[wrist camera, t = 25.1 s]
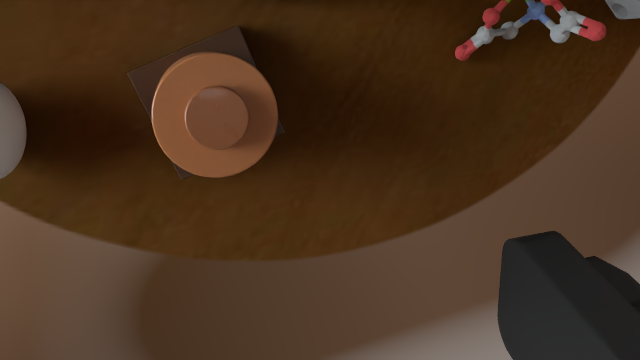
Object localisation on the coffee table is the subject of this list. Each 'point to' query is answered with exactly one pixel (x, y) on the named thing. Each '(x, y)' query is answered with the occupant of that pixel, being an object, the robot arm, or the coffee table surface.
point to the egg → (10, 131)
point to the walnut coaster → (151, 73)
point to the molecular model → (535, 11)
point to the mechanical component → (625, 8)
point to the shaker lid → (214, 114)
